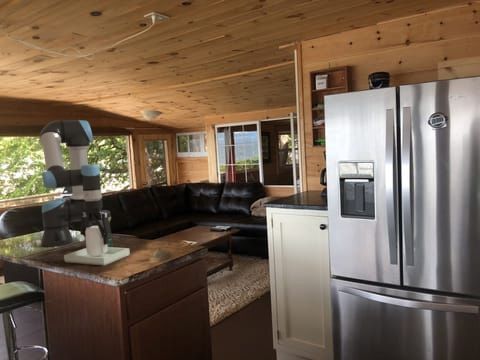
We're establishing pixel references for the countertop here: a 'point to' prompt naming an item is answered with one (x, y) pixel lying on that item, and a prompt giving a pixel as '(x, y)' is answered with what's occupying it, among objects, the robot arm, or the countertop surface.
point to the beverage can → (93, 241)
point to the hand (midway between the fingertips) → (97, 251)
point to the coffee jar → (110, 241)
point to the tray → (102, 259)
